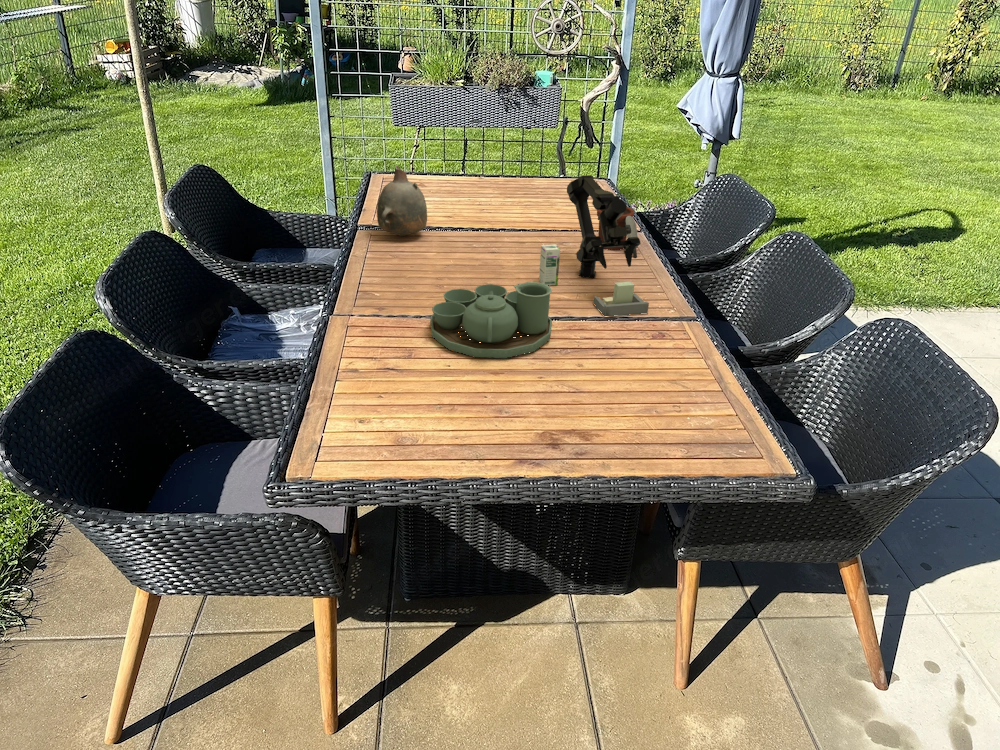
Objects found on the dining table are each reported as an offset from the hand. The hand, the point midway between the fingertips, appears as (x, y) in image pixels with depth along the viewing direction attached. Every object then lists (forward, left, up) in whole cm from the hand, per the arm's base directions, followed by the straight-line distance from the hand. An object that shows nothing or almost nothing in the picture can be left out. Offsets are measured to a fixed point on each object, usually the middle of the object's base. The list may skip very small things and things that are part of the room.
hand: (617, 267), depth 245 cm
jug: (-47, -93, -13) cm, 105 cm away
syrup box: (-11, -25, -13) cm, 30 cm away
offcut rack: (+6, +2, -13) cm, 15 cm away
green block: (+7, +3, -13) cm, 15 cm away
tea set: (+34, -39, -14) cm, 53 cm away
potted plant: (-57, -2, -13) cm, 59 cm away
